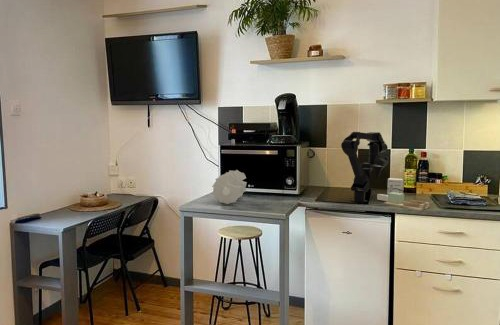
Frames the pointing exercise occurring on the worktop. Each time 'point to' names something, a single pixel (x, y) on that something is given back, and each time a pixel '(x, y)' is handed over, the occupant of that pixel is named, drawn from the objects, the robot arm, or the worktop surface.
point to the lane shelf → (410, 205)
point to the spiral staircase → (229, 187)
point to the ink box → (395, 185)
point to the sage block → (392, 197)
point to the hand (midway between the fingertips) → (373, 178)
